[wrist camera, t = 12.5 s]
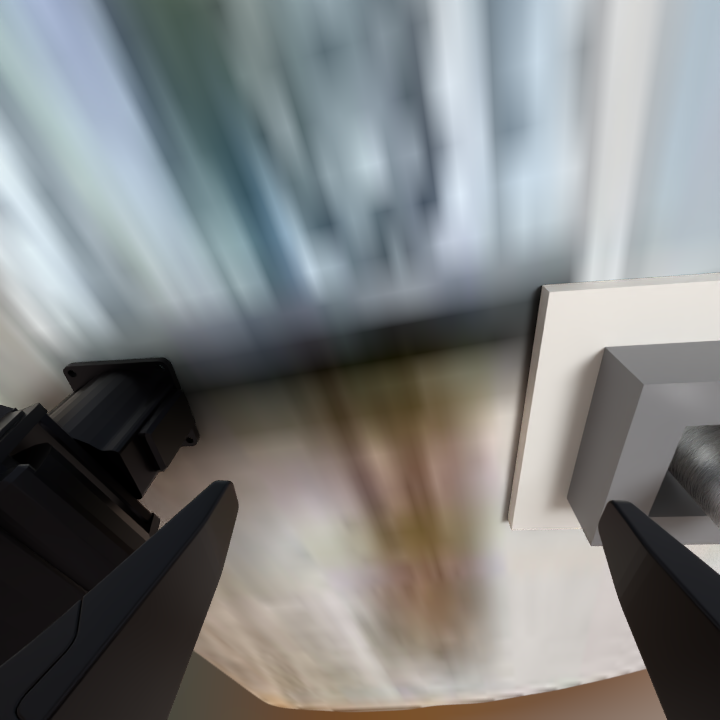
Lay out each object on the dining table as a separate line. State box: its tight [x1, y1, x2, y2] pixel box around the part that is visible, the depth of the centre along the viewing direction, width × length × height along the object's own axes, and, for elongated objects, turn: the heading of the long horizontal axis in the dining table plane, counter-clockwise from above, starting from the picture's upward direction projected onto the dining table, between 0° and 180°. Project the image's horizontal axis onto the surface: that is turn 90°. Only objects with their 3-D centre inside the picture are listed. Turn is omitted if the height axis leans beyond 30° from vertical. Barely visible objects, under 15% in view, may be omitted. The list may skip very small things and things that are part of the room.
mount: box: [508, 273, 720, 546], centre depth 22 cm, size 18×18×4 cm
